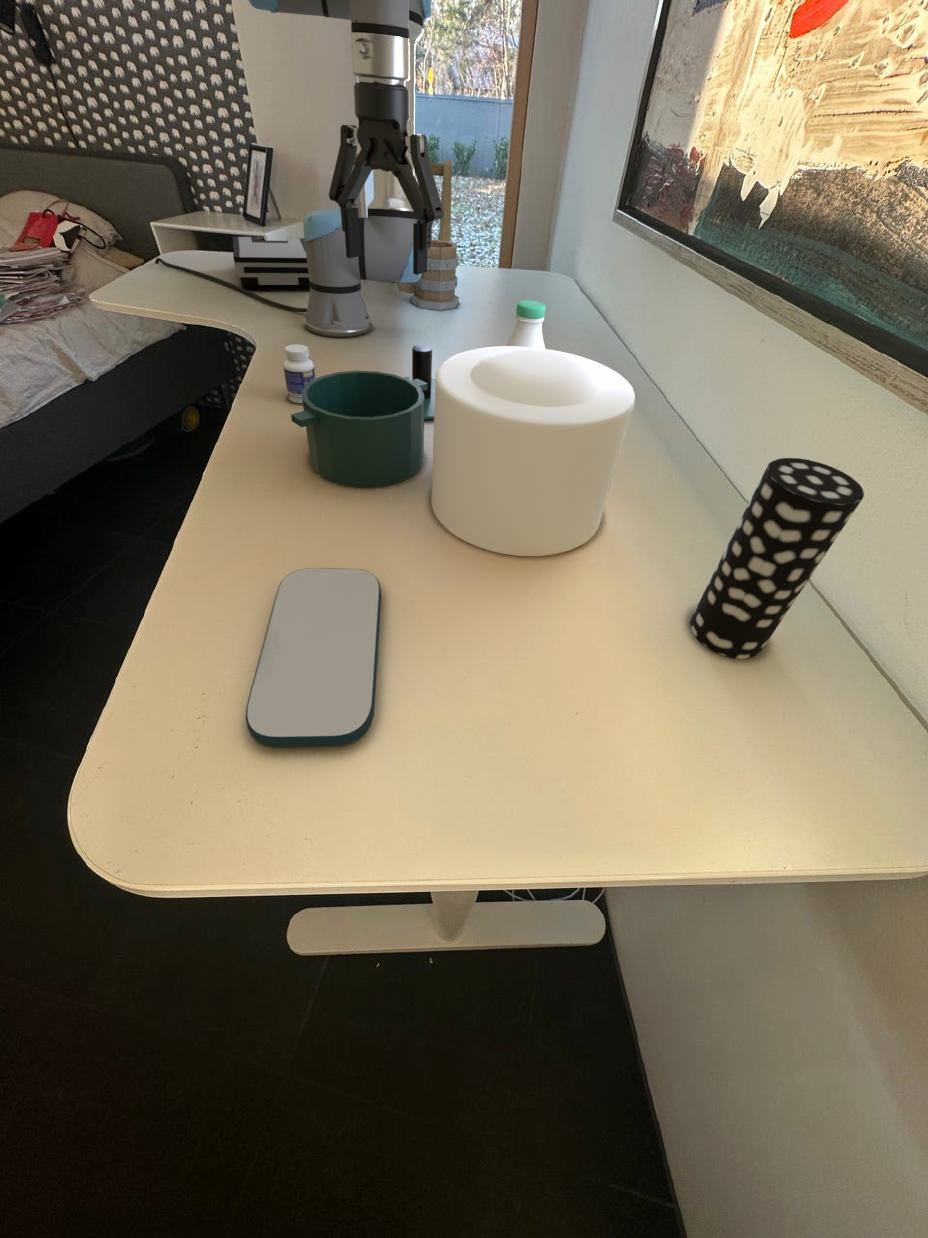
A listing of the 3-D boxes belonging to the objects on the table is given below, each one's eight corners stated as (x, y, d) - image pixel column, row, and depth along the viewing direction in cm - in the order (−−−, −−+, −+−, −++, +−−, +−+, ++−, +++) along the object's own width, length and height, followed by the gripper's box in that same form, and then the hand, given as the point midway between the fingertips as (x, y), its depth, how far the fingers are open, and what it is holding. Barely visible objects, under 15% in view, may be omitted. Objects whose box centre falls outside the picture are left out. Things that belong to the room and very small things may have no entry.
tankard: (461, 300, 157) (464, 237, 147) (452, 312, 148) (455, 246, 138) (393, 291, 159) (392, 229, 149) (381, 302, 150) (379, 237, 139)
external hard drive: (372, 749, 49) (371, 737, 48) (240, 752, 48) (235, 739, 47) (382, 580, 66) (382, 568, 65) (285, 579, 65) (282, 566, 64)
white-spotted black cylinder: (679, 608, 66) (751, 456, 53) (743, 607, 67) (830, 458, 53) (706, 659, 61) (795, 504, 47) (776, 658, 61) (884, 505, 48)
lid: (352, 395, 104) (348, 342, 98) (425, 375, 114) (426, 325, 108) (416, 431, 95) (417, 375, 89) (489, 406, 105) (494, 353, 99)
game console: (306, 264, 174) (303, 233, 169) (318, 292, 153) (315, 257, 147) (237, 263, 169) (232, 231, 163) (240, 292, 147) (233, 256, 142)
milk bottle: (540, 421, 102) (560, 301, 88) (530, 438, 97) (550, 313, 83) (500, 413, 104) (514, 293, 90) (488, 429, 98) (501, 305, 84)
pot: (273, 458, 85) (260, 390, 78) (389, 420, 98) (387, 359, 91) (339, 507, 77) (332, 436, 70) (456, 459, 89) (461, 395, 82)
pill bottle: (310, 405, 100) (304, 354, 94) (283, 401, 100) (275, 350, 94) (321, 395, 104) (316, 345, 98) (295, 390, 104) (288, 341, 98)
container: (437, 456, 89) (442, 322, 75) (588, 469, 90) (621, 337, 76) (424, 548, 71) (428, 394, 57) (613, 563, 72) (662, 413, 58)
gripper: (293, 73, 76) (312, 253, 91) (442, 87, 67) (436, 284, 82) (330, 76, 81) (342, 247, 95) (474, 90, 72) (462, 275, 87)
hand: (386, 264), depth 89 cm, fingers open, 13 cm apart
